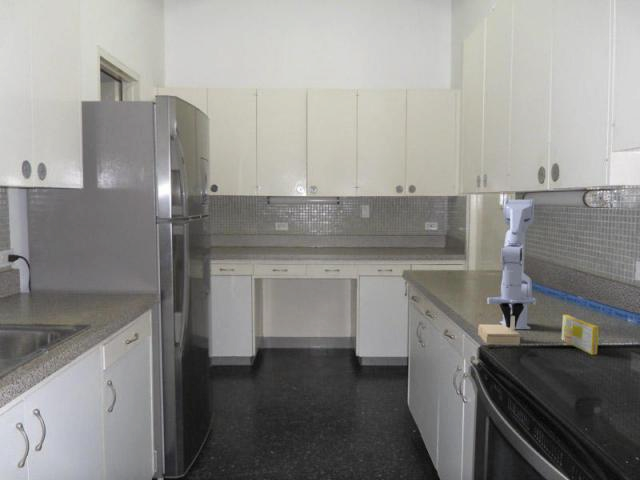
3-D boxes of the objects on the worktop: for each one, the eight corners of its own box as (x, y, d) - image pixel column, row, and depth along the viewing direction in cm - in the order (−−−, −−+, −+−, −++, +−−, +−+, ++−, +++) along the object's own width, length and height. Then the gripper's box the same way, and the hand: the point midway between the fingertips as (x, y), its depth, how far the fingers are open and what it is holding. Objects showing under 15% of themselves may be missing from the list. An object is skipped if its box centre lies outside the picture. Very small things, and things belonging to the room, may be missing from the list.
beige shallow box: (478, 334, 180) (478, 326, 180) (509, 334, 179) (509, 327, 179) (486, 344, 168) (486, 336, 168) (519, 345, 167) (520, 336, 167)
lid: (479, 326, 179) (479, 310, 179) (509, 326, 179) (509, 310, 178) (487, 335, 168) (487, 318, 167) (519, 335, 167) (519, 319, 167)
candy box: (598, 355, 157) (599, 326, 156) (591, 355, 157) (592, 326, 156) (567, 339, 173) (567, 314, 172) (560, 340, 173) (561, 314, 172)
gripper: (491, 286, 168) (490, 329, 170) (539, 286, 167) (538, 330, 168) (486, 282, 175) (485, 324, 177) (532, 282, 174) (531, 324, 175)
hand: (510, 326), depth 173 cm, fingers closed on lid
